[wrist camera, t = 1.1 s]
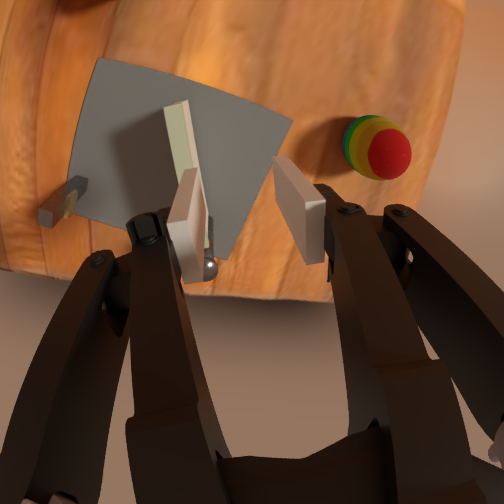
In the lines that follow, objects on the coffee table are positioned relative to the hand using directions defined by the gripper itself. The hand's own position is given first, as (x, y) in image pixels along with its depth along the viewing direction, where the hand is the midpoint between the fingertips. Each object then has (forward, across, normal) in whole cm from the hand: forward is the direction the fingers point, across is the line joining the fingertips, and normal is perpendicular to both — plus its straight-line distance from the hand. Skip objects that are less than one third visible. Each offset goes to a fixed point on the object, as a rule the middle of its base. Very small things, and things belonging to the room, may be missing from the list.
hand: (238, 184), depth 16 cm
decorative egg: (+21, +18, -3) cm, 28 cm away
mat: (+21, -8, -3) cm, 22 cm away
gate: (+20, -4, -3) cm, 21 cm away
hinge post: (+21, -4, -12) cm, 24 cm away
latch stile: (+21, -21, -3) cm, 29 cm away
